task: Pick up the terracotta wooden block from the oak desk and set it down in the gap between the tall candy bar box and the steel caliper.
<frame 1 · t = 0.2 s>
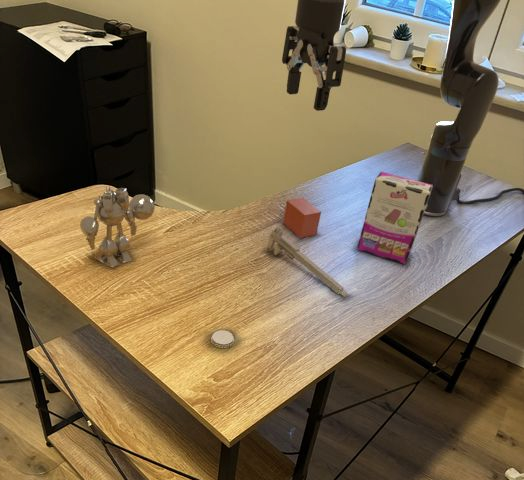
hand: (305, 101, 95), 29 cm above the table, tool pointing down, fingers open, 8 cm apart
caliper: (305, 273, 106), on the table
candy bar box: (382, 253, 116), on the table
block: (299, 228, 119), on the table
ridged bottle cap: (222, 340, 89), on the table
robot toy: (121, 256, 103), on the table
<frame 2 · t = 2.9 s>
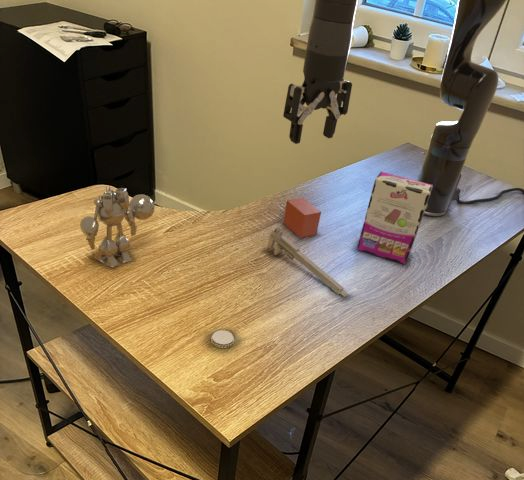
hand: (311, 139, 104), 21 cm above the table, tool pointing down, fingers open, 8 cm apart
nothing on the table moved.
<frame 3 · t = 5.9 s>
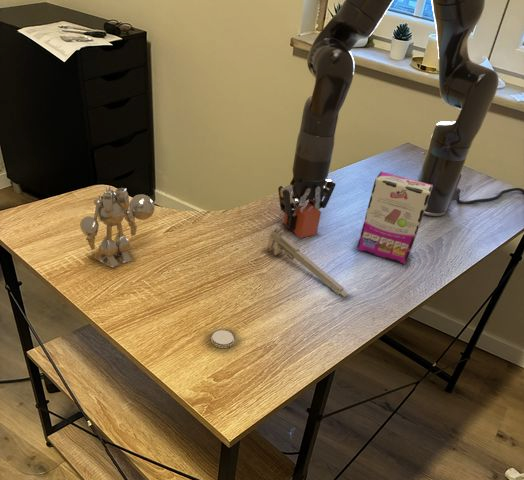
hand: (300, 226, 119), 1 cm above the table, tool pointing down, fingers closed on block, 4 cm apart
block: (299, 228, 119), on the table, touching gripper
everything else where it was.
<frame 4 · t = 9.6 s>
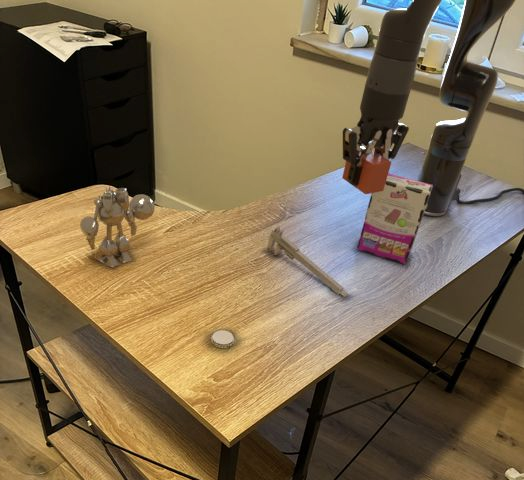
hand: (363, 181, 99), 18 cm above the table, tool pointing down, fingers closed on block, 4 cm apart
block: (362, 184, 100), point 17 cm above the table, touching gripper
everything else where it was.
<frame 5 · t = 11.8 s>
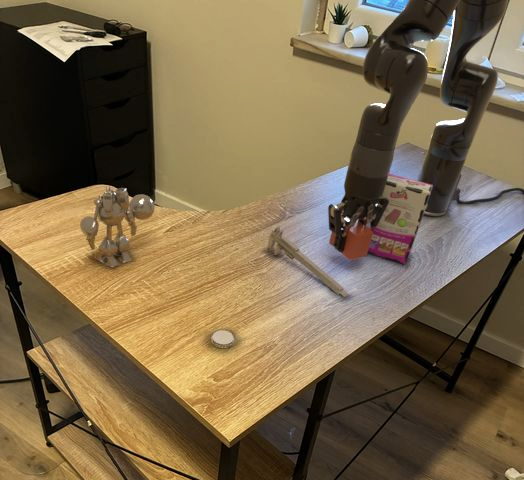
hand: (348, 247, 108), 4 cm above the table, tool pointing down, fingers closed on block, 4 cm apart
block: (347, 249, 109), point 3 cm above the table, touching gripper
everything else where it was.
when the fingers open (0 cm above the table, at t = 13.2 s): block stays where it is, on the table.
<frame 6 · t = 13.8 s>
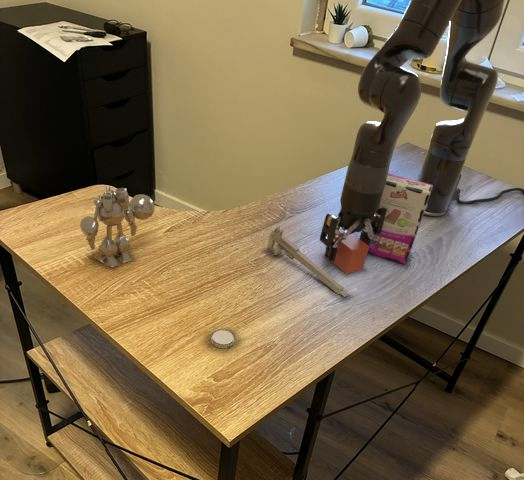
hand: (345, 256, 110), 2 cm above the table, tool pointing down, fingers open, 8 cm apart
block: (343, 263, 111), on the table
everything else where it was.
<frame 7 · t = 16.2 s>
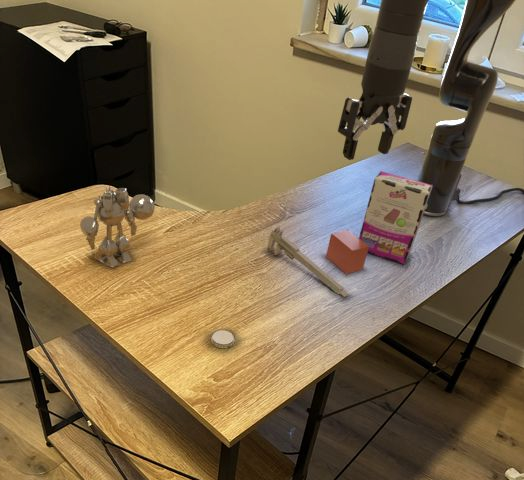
hand: (365, 155, 99), 21 cm above the table, tool pointing down, fingers open, 8 cm apart
nothing on the table moved.
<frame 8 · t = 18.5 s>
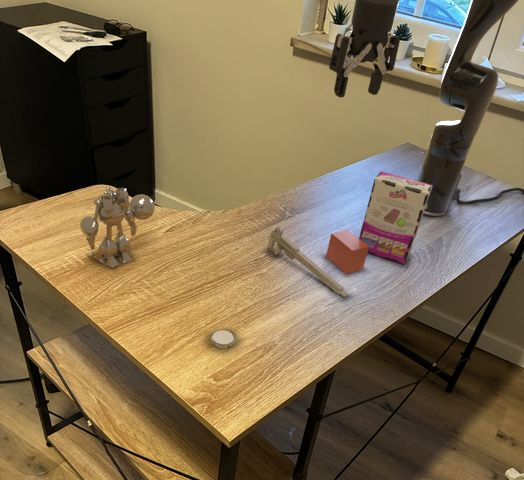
hand: (356, 94, 104), 28 cm above the table, tool pointing down, fingers open, 8 cm apart
nothing on the table moved.
at the end: block inside the target area (0.4 cm from its centre), on the table; the gripper is holding nothing; candy bar box moved 0.2 cm from its start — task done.
